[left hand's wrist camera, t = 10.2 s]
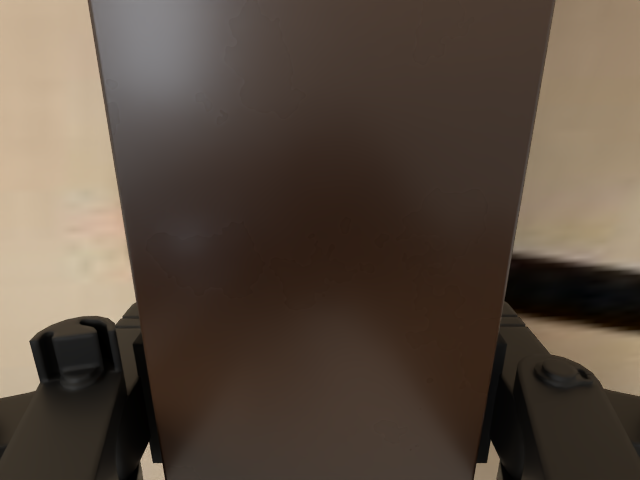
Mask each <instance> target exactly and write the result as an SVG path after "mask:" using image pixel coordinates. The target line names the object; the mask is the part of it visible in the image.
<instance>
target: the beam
mask: <svg viewBox="0 0 640 480" xmlns="http://www.w3.org/2000/svg"><path fill="white" fill-rule="evenodd" d="M88 5H89V11H90V17H91V23H92V29H93V36H94V42H95V48H96V54H97V60H98V67H99V73H100V79H101V85H102V91H103V98H104V104H105V110H106V116H107V122H108V129H109V135H110V141H111V147H112V153H113V159H114V166H115V172H116V178H117V184H118V190H119V197H120V203H121V209H122V215H123V221H124V228H125V234H126V240H127V246H128V252H129V259H130V265H131V271H132V277H133V283H134V289H135V296H136V302H137V308H138V314H139V320H140V327H141V333H142V339H143V345H144V351H145V358H146V364H147V370H148V376H149V382H150V389H151V395H152V401H153V407H154V413H155V420H156V426H157V432H158V438H159V444H160V450H161V457H162V463H163V469H164V475H165V480H474V474H475V468H476V462H477V456H478V451H479V445H480V439H481V433H482V427H483V421H484V415H485V410H486V404H487V398H488V392H489V386H490V380H491V374H492V369H493V363H494V357H495V351H496V345H497V339H498V333H499V328H500V322H501V316H502V310H503V304H504V298H505V292H506V287H507V281H508V275H509V269H510V263H511V257H512V251H513V246H514V240H515V234H516V228H517V222H518V216H519V210H520V205H521V199H522V193H523V187H524V181H525V175H526V169H527V164H528V158H529V152H530V146H531V140H532V134H533V129H534V123H535V117H536V111H537V105H538V99H539V93H540V88H541V82H542V76H543V70H544V64H545V58H546V52H547V47H548V41H549V35H550V29H551V23H552V17H553V11H554V6H555V0H88Z"/></svg>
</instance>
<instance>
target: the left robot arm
mask: <svg viewBox="0 0 640 480" xmlns="http://www.w3.org/2000/svg"><path fill="white" fill-rule="evenodd" d="M29 342H30V345H31V349H32V353H33V357H34V360H35V364H36V368H37V372H38V375H39V379H40V384H39V386H38V388H37V390H36V391H33V392H30V393H25V394H20V395H15V396H10V397H5V398H0V480H143V475H142V468H141V463H140V460H141V457H142V455H143V453H144V451H145V449H146V447H147V445H148V443H150V449H151V455H152V460H153V463H162V457H161V450H160V444H159V438H158V432H157V426H156V420H155V413H154V407H153V401H152V395H151V389H150V382H149V376H148V370H147V364H146V358H145V351H144V345H143V339H142V333H141V327H140V320H139V314H138V308H137V302H136V303H134V304H133V305H132V306H131V307H130V308H129V309H128V311H127V312H126V313H125V314H124V315H123V318H122V319H120V320H119V321H118V323H117V324H116V325H115V323H114V322H112V321H111V320H110V319H108V318H104V317H99V316H82V317H77V318H72V319H67V320H64V321H61V322H59V323H56V324H53V325H51V326H49V327H47V328H45V329H44V330H42V331H40V332H38V333H37V334H36V335H35V336H34V337H33V338H32V339H31V340H30V341H29ZM490 441H492V443H493V445H494V447H495V449H496V451H497V454H498V456H499V458H500V463H499V468H498V473H497V479H496V480H640V396H635V395H630V394H625V393H620V392H615V391H610V390H607V389H603V387H602V385H601V383H600V381H599V380H598V379H597V378H596V377H595V375H594V374H593V373H592V372H591V371H589V370H588V369H586V368H585V367H583V366H582V365H580V364H578V363H576V362H574V361H571V360H569V359H566V358H564V357H559V356H555V355H551V354H550V353H549V352H548V351H547V350H546V348H545V347H544V346H543V345H542V344H541V342H540V341H539V340H538V339H537V338H536V337H535V335H534V334H533V333H532V332H531V331H530V329H529V328H528V327H525V323H524V322H523V321H522V320H521V319H520V317H517V314H516V313H515V311H514V310H513V309H512V308H511V307H510V305H509V304H508V303H506V302H505V301H504V304H503V310H502V316H501V322H500V328H499V333H498V339H497V345H496V351H495V357H494V363H493V369H492V374H491V380H490V386H489V392H488V398H487V404H486V410H485V415H484V421H483V427H482V433H481V439H480V445H479V451H478V456H477V462H476V463H487V459H488V453H489V447H490Z"/></svg>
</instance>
